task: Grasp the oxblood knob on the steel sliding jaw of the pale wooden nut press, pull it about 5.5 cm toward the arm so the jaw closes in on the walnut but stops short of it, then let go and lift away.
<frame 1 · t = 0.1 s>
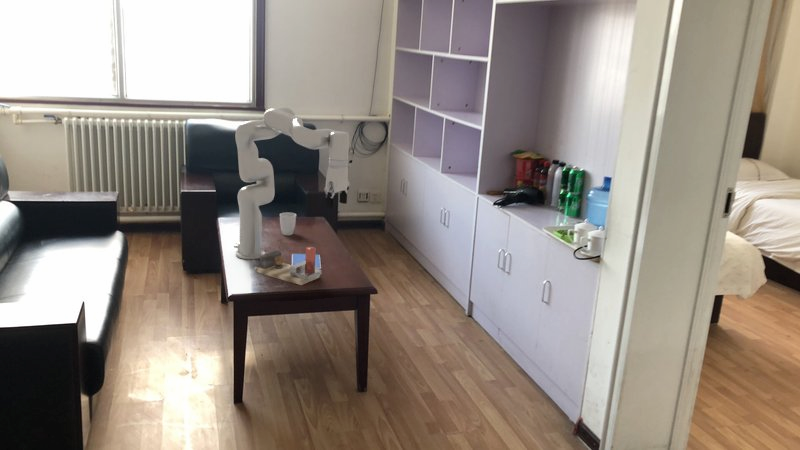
hand: (336, 205, 272), 31 cm above the table, tool pointing down, fingers open, 9 cm apart
cup: (287, 234, 337), on the table
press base: (288, 274, 281), on the table
tablet computer: (306, 263, 298), on the table
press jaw: (306, 260, 274), point 8 cm above the table, slide at 0.0 cm
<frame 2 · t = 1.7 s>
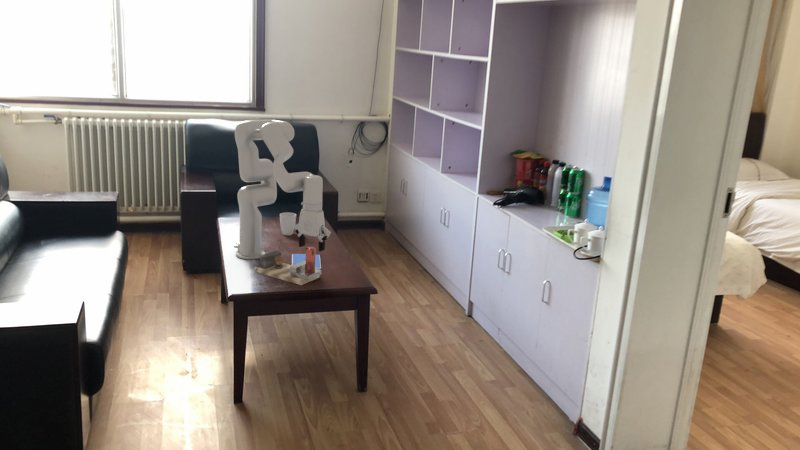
hand: (311, 248, 272), 14 cm above the table, tool pointing down, fingers open, 9 cm apart
nothing on the table moved.
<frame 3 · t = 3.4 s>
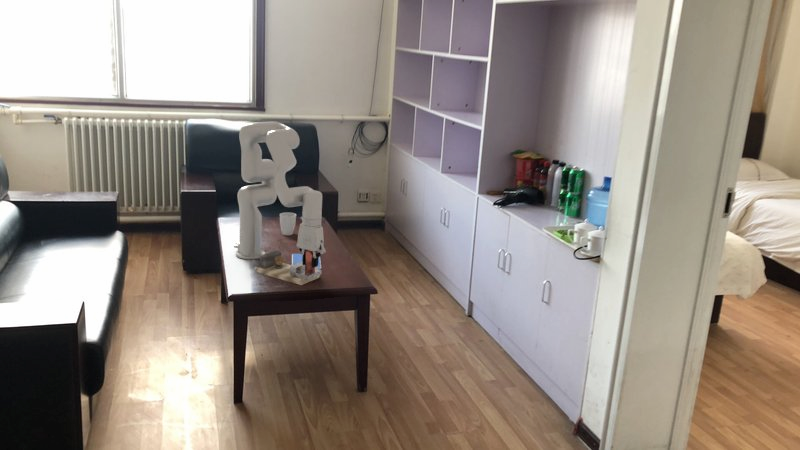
hand: (310, 265, 274), 7 cm above the table, tool pointing down, fingers closed on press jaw, 4 cm apart
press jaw: (306, 260, 274), point 8 cm above the table, slide at 0.0 cm, touching gripper
everything else where it was.
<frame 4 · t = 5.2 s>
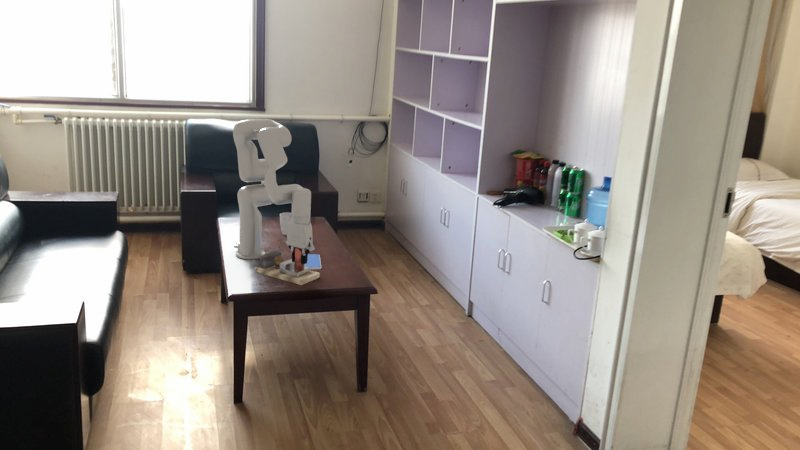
hand: (299, 262, 276), 7 cm above the table, tool pointing down, fingers closed on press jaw, 4 cm apart
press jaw: (295, 258, 277), point 8 cm above the table, slide at 5.4 cm, touching gripper
everything else where it was.
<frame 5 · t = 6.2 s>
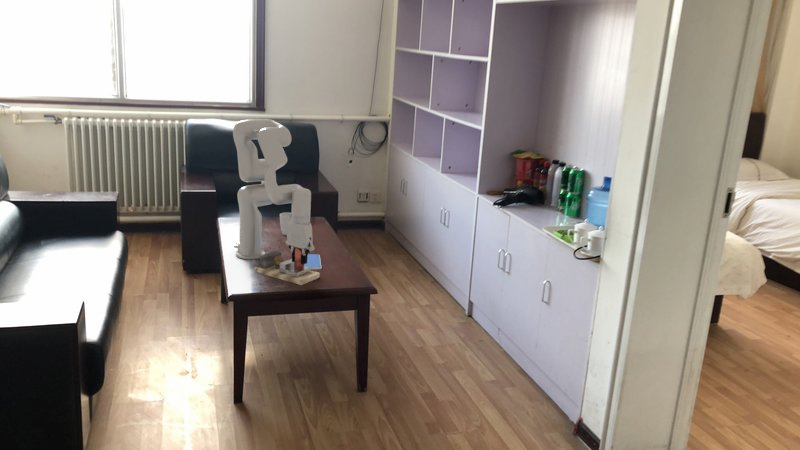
hand: (299, 262, 276), 7 cm above the table, tool pointing down, fingers closed on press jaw, 4 cm apart
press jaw: (295, 258, 277), point 8 cm above the table, slide at 5.5 cm, touching gripper
everything else where it was.
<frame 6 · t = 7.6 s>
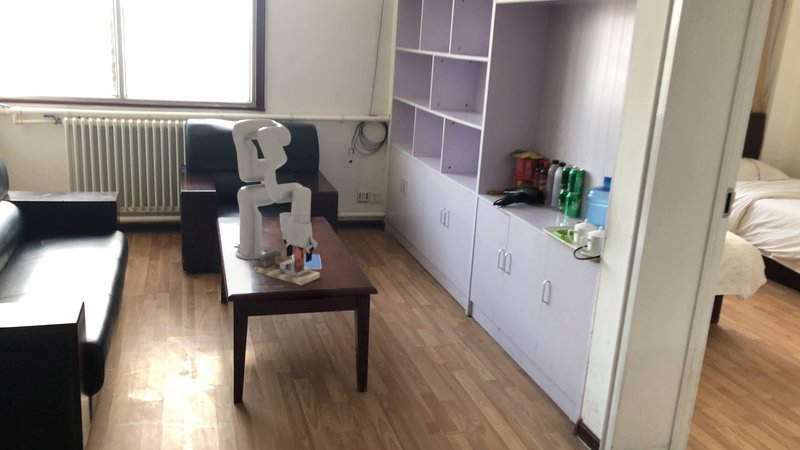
hand: (299, 258, 276), 8 cm above the table, tool pointing down, fingers open, 9 cm apart
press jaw: (295, 258, 277), point 8 cm above the table, slide at 5.5 cm
everything else where it was.
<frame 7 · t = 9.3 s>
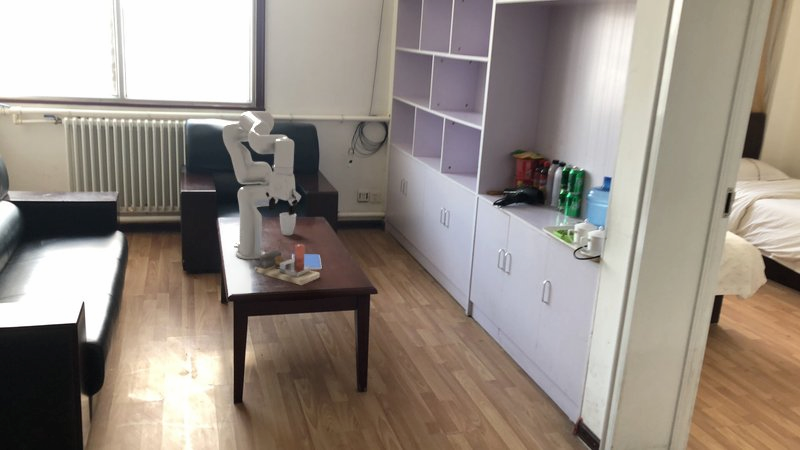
hand: (281, 211, 272), 27 cm above the table, tool pointing down, fingers open, 9 cm apart
nothing on the table moved.
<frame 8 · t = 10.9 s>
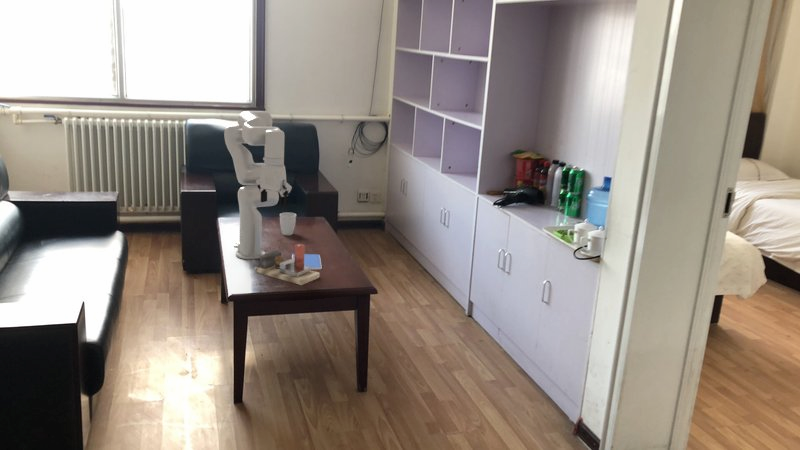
hand: (273, 203, 271), 30 cm above the table, tool pointing down, fingers open, 9 cm apart
nothing on the table moved.
at the end: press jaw slide at 5.5 cm; the gripper is holding nothing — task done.
